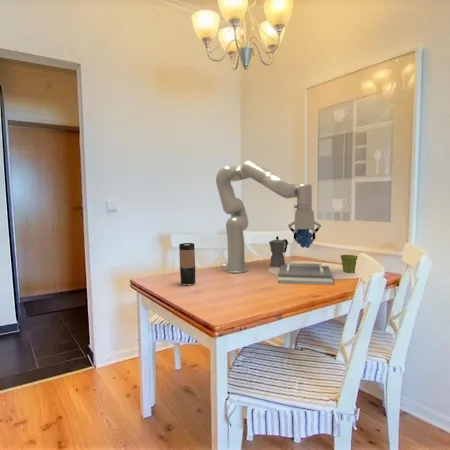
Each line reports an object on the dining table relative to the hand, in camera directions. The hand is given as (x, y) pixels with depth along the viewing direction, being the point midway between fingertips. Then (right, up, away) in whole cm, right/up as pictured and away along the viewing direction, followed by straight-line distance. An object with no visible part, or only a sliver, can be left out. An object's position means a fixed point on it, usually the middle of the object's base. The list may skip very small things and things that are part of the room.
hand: (304, 240), depth 179 cm
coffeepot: (-9, -17, +28) cm, 34 cm away
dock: (0, -19, 0) cm, 19 cm away
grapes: (-1, -4, +2) cm, 5 cm away
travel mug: (-60, -21, -9) cm, 65 cm away
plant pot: (+26, -18, +8) cm, 33 cm away
